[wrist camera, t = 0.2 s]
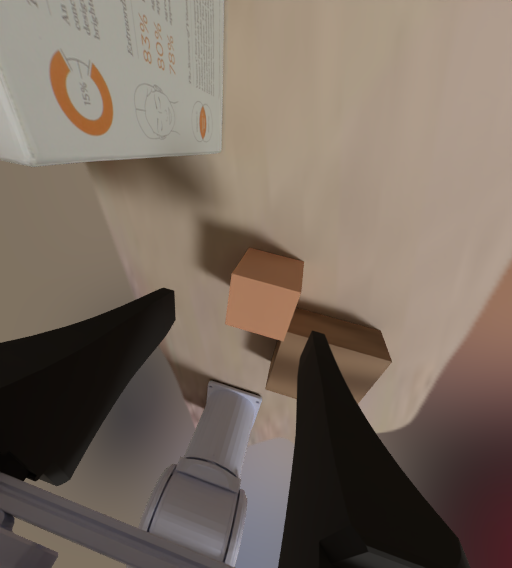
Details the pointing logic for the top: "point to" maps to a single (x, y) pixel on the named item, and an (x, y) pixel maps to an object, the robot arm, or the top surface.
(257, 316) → the terracotta cube
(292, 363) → the walnut block
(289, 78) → the top surface
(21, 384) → the robot arm
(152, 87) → the small box
